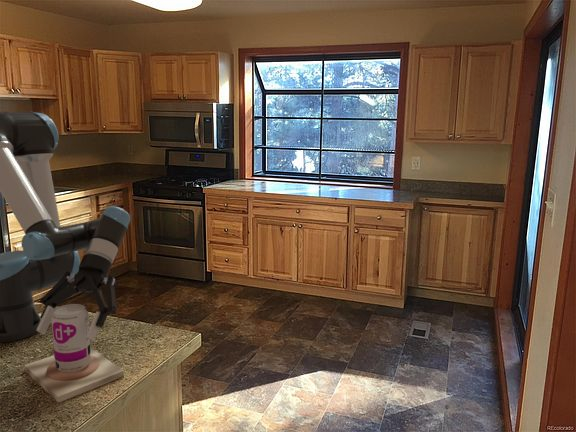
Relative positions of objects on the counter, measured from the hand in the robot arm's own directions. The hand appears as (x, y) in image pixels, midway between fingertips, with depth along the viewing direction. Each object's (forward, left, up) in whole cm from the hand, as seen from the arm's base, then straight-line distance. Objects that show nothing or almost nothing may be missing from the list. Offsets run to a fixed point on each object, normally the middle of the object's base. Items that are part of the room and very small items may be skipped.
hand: (64, 336), depth 116 cm
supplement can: (-1, +2, -9) cm, 10 cm away
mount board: (-1, +2, -11) cm, 11 cm away
